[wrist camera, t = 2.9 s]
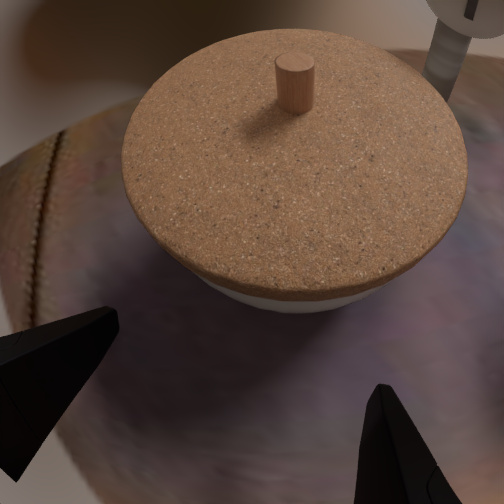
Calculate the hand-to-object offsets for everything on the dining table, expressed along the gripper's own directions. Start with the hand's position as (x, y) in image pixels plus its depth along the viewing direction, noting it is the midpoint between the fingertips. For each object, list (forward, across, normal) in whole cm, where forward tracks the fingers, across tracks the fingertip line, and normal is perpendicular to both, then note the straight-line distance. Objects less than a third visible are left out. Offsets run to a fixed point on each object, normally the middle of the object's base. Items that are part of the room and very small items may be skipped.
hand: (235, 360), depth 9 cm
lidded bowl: (+10, 0, -1) cm, 11 cm away
